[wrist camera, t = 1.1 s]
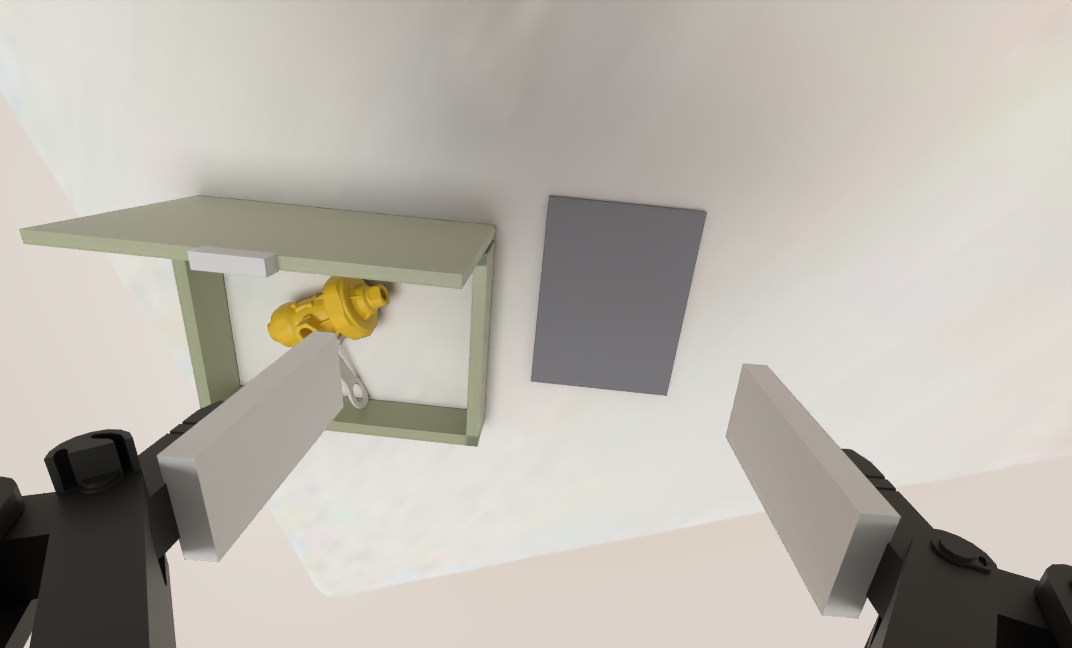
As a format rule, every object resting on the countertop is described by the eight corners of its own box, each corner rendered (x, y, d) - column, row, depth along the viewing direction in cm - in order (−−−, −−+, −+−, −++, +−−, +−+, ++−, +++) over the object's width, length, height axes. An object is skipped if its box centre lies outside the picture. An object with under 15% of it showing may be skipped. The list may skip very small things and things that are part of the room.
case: (198, 193, 39) (-4, 231, 25) (495, 224, 39) (457, 278, 25) (231, 393, 46) (87, 509, 32) (484, 420, 46) (449, 549, 32)
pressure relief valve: (272, 290, 42) (377, 252, 40) (347, 394, 48) (441, 364, 46) (239, 323, 37) (357, 282, 35) (327, 434, 43) (431, 403, 41)
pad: (549, 195, 38) (549, 196, 37) (704, 211, 38) (706, 212, 37) (531, 378, 44) (531, 381, 43) (665, 392, 44) (666, 395, 43)
